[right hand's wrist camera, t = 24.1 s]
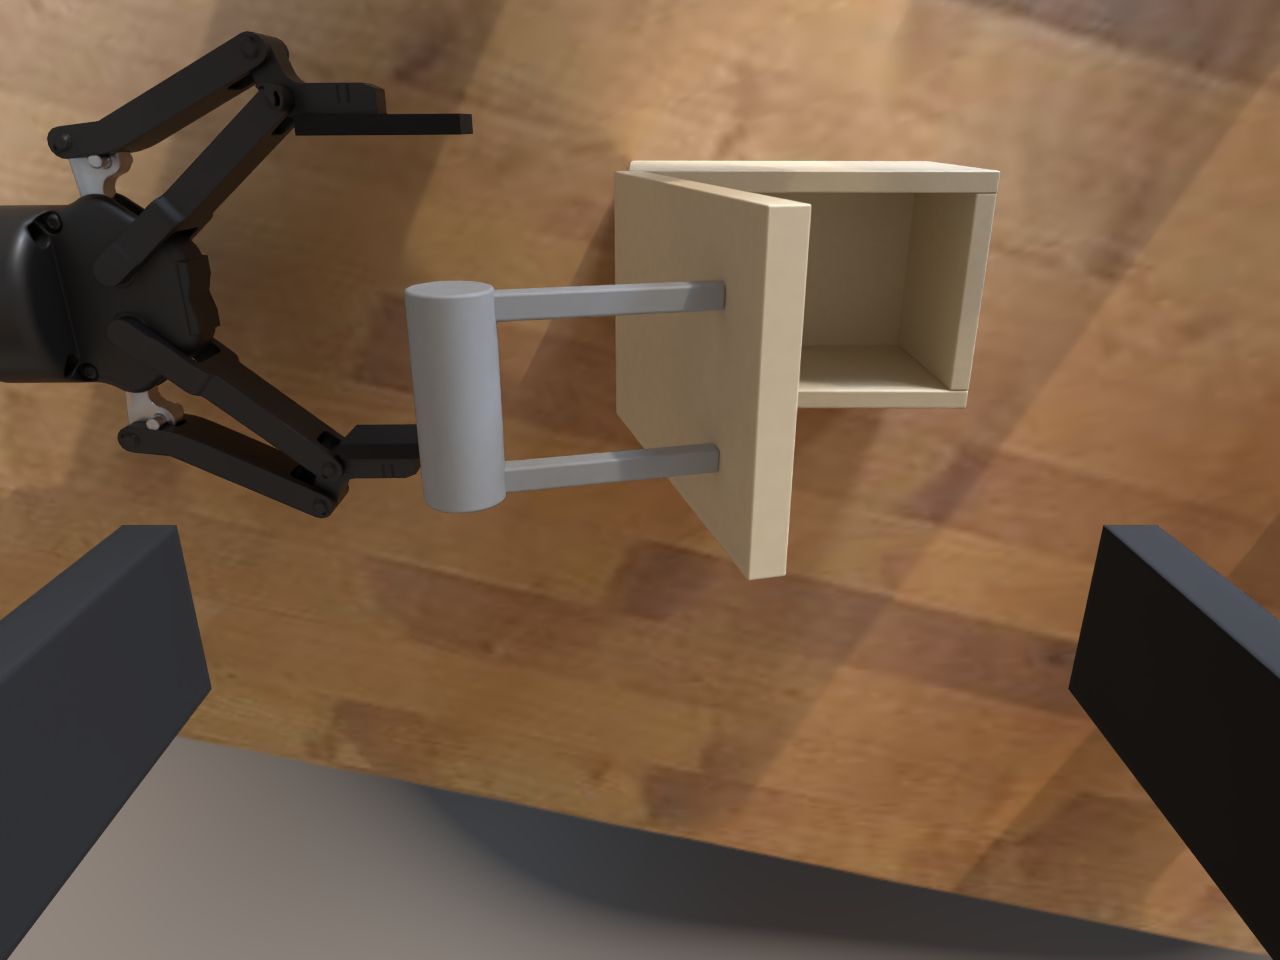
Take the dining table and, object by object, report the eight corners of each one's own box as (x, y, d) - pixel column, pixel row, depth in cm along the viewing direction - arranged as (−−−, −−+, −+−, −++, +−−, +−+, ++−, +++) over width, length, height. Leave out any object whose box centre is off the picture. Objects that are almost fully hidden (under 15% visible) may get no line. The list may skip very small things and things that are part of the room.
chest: (929, 161, 43) (1000, 170, 34) (907, 356, 47) (966, 409, 38) (630, 160, 43) (628, 170, 34) (631, 356, 47) (629, 408, 38)
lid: (812, 203, 20) (396, 213, 18) (786, 576, 24) (435, 621, 22) (642, 170, 34) (392, 173, 32) (641, 411, 38) (416, 429, 35)
